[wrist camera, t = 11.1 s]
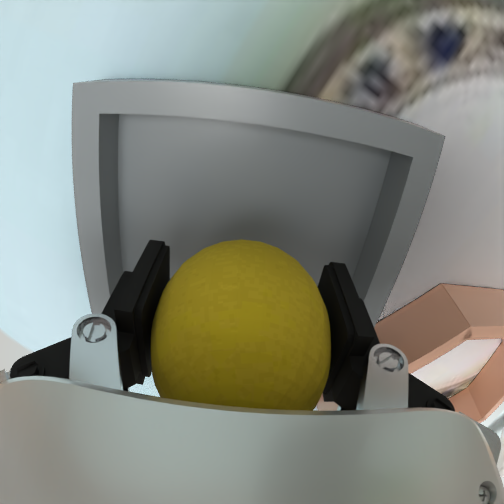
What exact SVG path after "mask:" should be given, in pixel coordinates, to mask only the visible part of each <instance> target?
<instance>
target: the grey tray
mask: <svg viewBox="0 0 504 504" xmlns="http://www.w3.org/2000/svg"><path fill="white" fill-rule="evenodd" d="M444 139H445V136H443V135H441V134H439V133H436V132H434V131H432V130H429V129H427V128H424V127H422V126H419V125H417V124H414V123H411V122H408V121H405V120H402V119H399V118H395V117H392V116H389V115H385V114H382V113H378V112H375V111H371V110H367V109H364V108H360V107H356V106H352V105H348V104H344V103H339V102H335V101H331V100H326V99H321V98H317V97H312V96H307V95H301V94H296V93H290V92H285V91H279V90H272V89H266V88H259V87H251V86H244V85H235V84H226V83H216V82H204V81H190V80H171V79H104V80H94V81H86V82H78V83H73V95H72V164H73V183H74V196H75V208H76V218H77V227H78V235H79V243H80V250H81V257H82V263H83V270H84V275H85V281H86V287H87V292H88V297H89V302H90V307H91V312H92V314H94V313H96V314H101V313H102V311H103V310H104V308H105V306H106V304H107V302H108V300H109V298H110V296H111V294H112V292H113V290H114V289H115V287H116V285H117V283H118V281H119V279H120V277H121V276H122V274H123V272H124V271H131V272H133V270H134V268H135V266H136V264H137V262H138V260H139V259H140V257H141V255H142V253H143V251H144V249H145V247H146V245H147V244H148V242H149V240H158V241H164V242H165V245H167V246H170V279H171V278H172V276H173V275H174V274H175V273H176V272H177V270H178V269H179V268H180V267H181V265H182V264H183V263H184V262H185V261H186V260H188V259H189V258H191V257H192V256H193V255H195V254H196V253H198V252H199V251H201V250H202V249H204V248H206V247H209V246H212V245H214V244H217V243H220V242H223V241H232V240H241V239H243V240H251V241H260V242H263V243H266V244H269V245H272V246H275V247H277V248H279V249H281V250H282V251H284V252H285V253H287V254H288V255H290V256H292V257H293V258H294V259H296V260H297V261H298V262H299V263H300V264H301V266H302V267H303V268H304V269H305V270H306V271H307V272H308V274H309V275H310V276H311V277H312V278H313V280H314V282H315V283H316V285H317V287H318V284H319V280H320V277H321V274H322V271H323V268H324V266H325V265H329V263H330V262H337V263H344V264H345V265H346V267H347V269H348V271H349V274H350V276H351V279H352V281H353V283H354V286H355V288H356V291H357V293H358V296H359V298H361V299H362V300H363V301H364V304H365V306H366V309H367V311H368V314H369V316H370V319H371V321H372V324H373V326H374V327H375V325H376V323H377V321H378V319H379V317H380V314H381V312H382V310H383V308H384V306H385V304H386V302H387V299H388V297H389V295H390V293H391V290H392V288H393V286H394V284H395V281H396V279H397V277H398V274H399V272H400V270H401V267H402V265H403V262H404V260H405V257H406V255H407V252H408V250H409V247H410V245H411V242H412V239H413V237H414V234H415V231H416V229H417V226H418V223H419V220H420V218H421V215H422V212H423V209H424V206H425V203H426V200H427V197H428V194H429V191H430V188H431V185H432V181H433V178H434V175H435V172H436V168H437V165H438V161H439V158H440V154H441V151H442V147H443V143H444Z"/></svg>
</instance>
